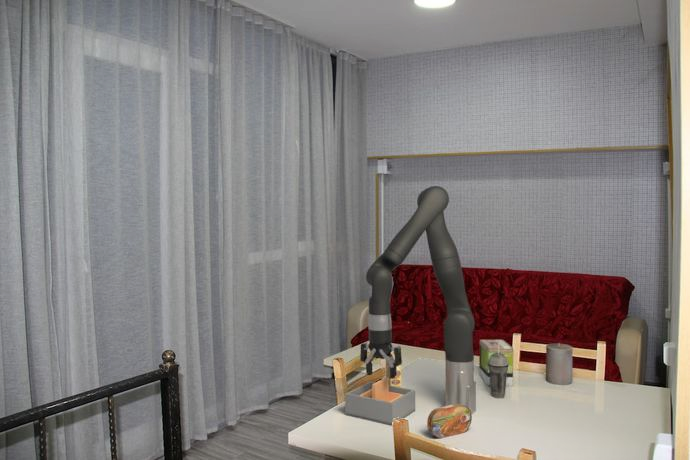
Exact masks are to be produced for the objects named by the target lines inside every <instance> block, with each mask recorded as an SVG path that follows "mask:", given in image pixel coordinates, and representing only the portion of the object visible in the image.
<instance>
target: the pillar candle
mask: <svg viewBox="0 0 690 460" xmlns="http://www.w3.org/2000/svg"><path fill="white" fill-rule="evenodd" d="M573 347H574V346H571V345H569V344H566V343H565V344H564V343H560V342H558V343H556V342H555V343H548V344H546V346H545V348H546V349H545V382H547V383H549V384H552V385H558V386H564V385H565V386H566V385H570V384H572V383H573V349H574V348H573Z"/></svg>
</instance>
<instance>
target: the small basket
mask: <svg viewBox="0 0 690 460" xmlns="http://www.w3.org/2000/svg"><path fill="white" fill-rule="evenodd" d="M359 396H363V397H368V398H373V399H378V400H382V401H387V402H393V401H395V400H396V399H398V398H400V397H402V396H403V394H398V393H393V392H389V382H388V378H386V377H384V378H382V379H379V380H378V381H376V382H375V383H374V384H372V389H371V390H369V391H367V392H365V393H363V394H361V395H359Z"/></svg>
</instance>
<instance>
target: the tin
mask: <svg viewBox="0 0 690 460" xmlns="http://www.w3.org/2000/svg"><path fill="white" fill-rule="evenodd" d="M472 418H473V417H472V414H471V411H470V409H469V408H468V407H467V406H465V405H461V404H453V405H449V406H441V407H437V408H434V409H432V410H431V411H430V412H429V414H428V417H427V421H426V422H427V423H426V424H427V425H426V426H427V430H428V431H429V433H430V434H431V435H433V436H434V437H436V438H439V439H444V438H447V437H453V436H456V435H460V434H463V433H466V432H467V431H468V430H469V428H470V427H471V424H472V420H473V419H472Z"/></svg>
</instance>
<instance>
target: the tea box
mask: <svg viewBox="0 0 690 460" xmlns="http://www.w3.org/2000/svg"><path fill="white" fill-rule="evenodd" d="M498 340H499V353H501V354H503V355H505V357H506V358H507V360H508V364H509V366H508V371H507V379H506V387H513V386H514V347H513V346H511V345H510V344H509V343H508V342H506V341H505V340H504V339H479V353H478V354H479V356H478V357H479V358H478V359H479V361H478V362H479V365H478V367H479V368H478V369H479V371H478V372H479V373H478V375H479V376H480V377H481V379H482V380H483V381H484V383H485V384H486V385H487V386H490V387H491V384H490V372H489V367H488V360H489V358H490V356H491V355H492V354H494V353H498Z"/></svg>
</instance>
